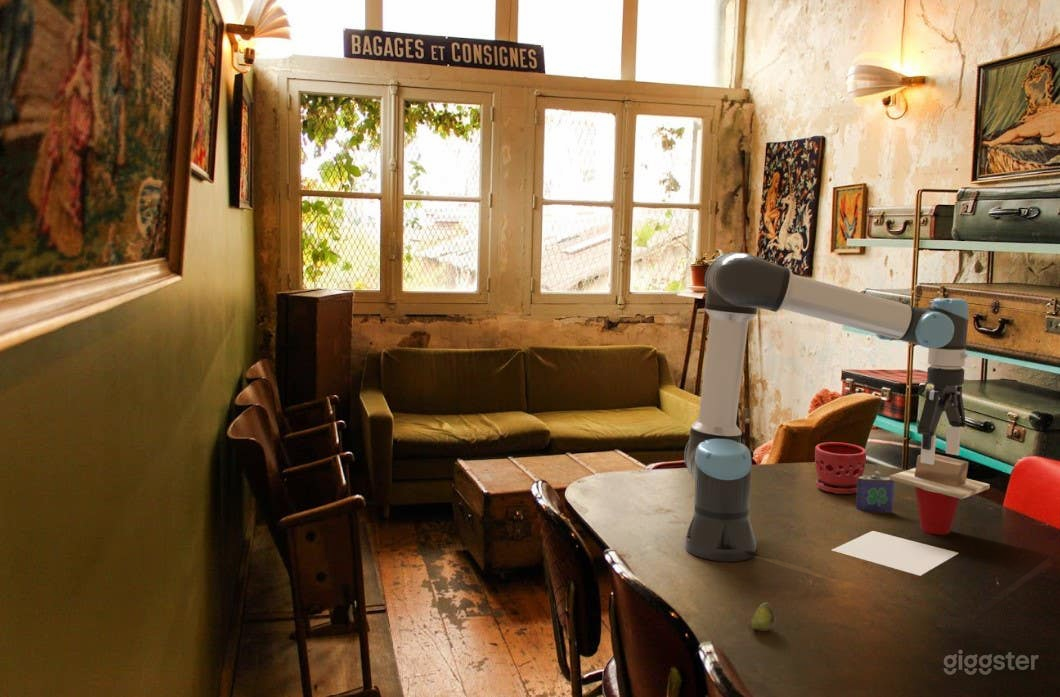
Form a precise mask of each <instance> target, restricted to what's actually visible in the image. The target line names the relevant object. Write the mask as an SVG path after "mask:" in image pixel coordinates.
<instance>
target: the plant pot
mask: <svg viewBox="0 0 1060 697" xmlns="http://www.w3.org/2000/svg"><path fill="white" fill-rule="evenodd" d="M836 452H837V453H836ZM866 460H867V451H866V449H865V447H862V446H859V445H857V444H851V443H846V442H838V441H837V442H836V441H834V442H831V441H830V442H822V443H818V444H817V445H816V446H815V448H814V466H815V470H816V474H817V476H818V478H817V479H816V481H815V482H816V485H817V487H818V488H819V489H821V490H823V491H825V492H829V493H832V494H839V495H849V494H855V493H857V478H858V477H863V476H864V472H865V469H866V463H867V461H866Z"/></svg>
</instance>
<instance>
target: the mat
mask: <svg viewBox="0 0 1060 697" xmlns="http://www.w3.org/2000/svg"><path fill="white" fill-rule="evenodd" d="M831 551H832V552H836V553H839V554H843V555H847V556H849V557H852V558H857V559H861V560H863V561H868V562H870V563H874V564H877V565H881V566H885V567H888V568H891V569H895V570H899V571H902V572H906V573H909V574H912V575H916V576H923V575H924V574H926V573H928V572H929V571H931V570H933V569H934V568H936V567H938V566H940V565H941V564H943V563H945V562H947V561H948V560H950V559H952V558H953V557H955V556H957V555H958V554H959V552H957V551H953V550H950V549H949V550H948V549H945V548H940V547H937V546H932V545H929V544H927V543H921V542H919V541H913V540H910V539H906V538H903V537H898V536H895V535H891V534H887V533H883V532H880V531H879V532H878V531H875V530H871V531H869V532H867V533H865V534H862V535H860V536H858V537H856V538H854V539H851V540H850V541H848V542H845V543H843V544H841V545H839V546H837V547H835V548H832V549H831Z"/></svg>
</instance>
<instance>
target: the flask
mask: <svg viewBox="0 0 1060 697" xmlns="http://www.w3.org/2000/svg"><path fill="white" fill-rule="evenodd" d="M874 472H875V473H873V475H867V476H866V475H864V474H863V475H862V477H858V478H857V492H856V497H855V498H856V500H855V509H857V510H860V511H867V512H870V513H874V514H878V515H893V514H894V508H895V507H894V505H895V490H896V489H895V486H896V481H893V480H889V478H890V476H887V477H881V475H882V473H881V472H880V471H877V470H875V471H874Z"/></svg>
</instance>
